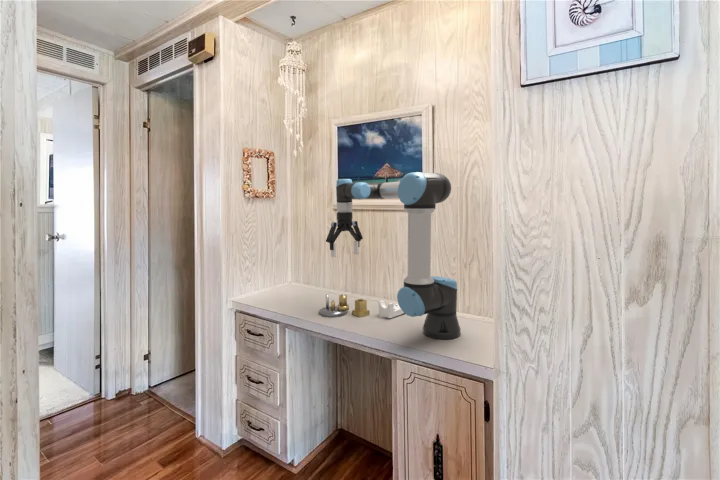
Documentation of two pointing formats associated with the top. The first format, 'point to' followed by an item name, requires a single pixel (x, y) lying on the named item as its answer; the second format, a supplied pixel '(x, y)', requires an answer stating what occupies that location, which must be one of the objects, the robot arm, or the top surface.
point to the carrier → (335, 307)
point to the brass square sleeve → (360, 308)
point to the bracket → (389, 310)
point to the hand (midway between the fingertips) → (345, 255)
